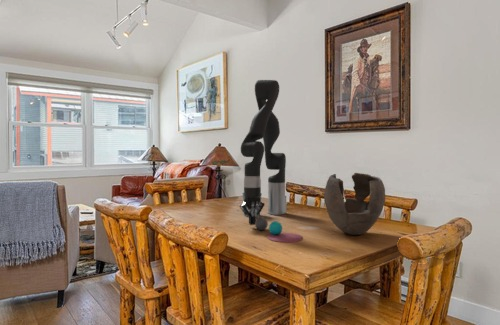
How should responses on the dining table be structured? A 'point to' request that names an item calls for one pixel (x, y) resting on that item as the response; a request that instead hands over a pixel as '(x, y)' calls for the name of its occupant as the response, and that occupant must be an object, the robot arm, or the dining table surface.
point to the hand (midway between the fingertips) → (252, 224)
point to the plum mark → (285, 237)
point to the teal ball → (275, 228)
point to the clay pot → (355, 203)
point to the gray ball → (261, 223)
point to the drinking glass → (243, 202)
